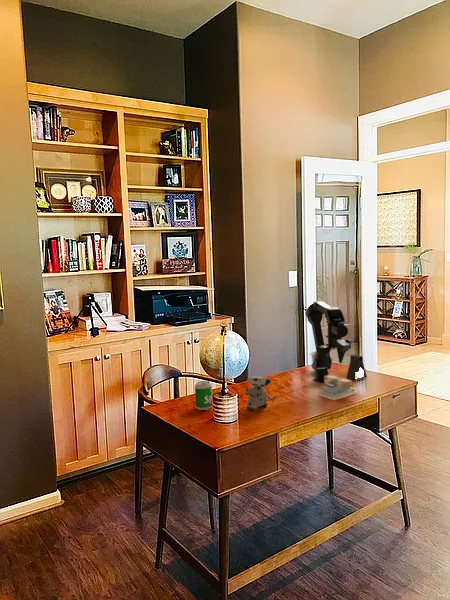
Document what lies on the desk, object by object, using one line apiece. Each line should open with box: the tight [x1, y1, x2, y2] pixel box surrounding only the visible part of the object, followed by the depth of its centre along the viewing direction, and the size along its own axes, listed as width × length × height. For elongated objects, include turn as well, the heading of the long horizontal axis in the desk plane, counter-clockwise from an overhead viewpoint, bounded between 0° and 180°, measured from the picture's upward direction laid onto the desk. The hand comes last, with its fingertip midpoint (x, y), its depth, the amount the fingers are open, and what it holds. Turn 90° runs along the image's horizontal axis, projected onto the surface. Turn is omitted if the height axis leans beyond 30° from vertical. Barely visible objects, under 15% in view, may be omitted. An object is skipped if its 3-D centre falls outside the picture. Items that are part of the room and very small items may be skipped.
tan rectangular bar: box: [323, 374, 353, 389], centre depth 235 cm, size 14×4×3 cm, turn 33°
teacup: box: [310, 351, 333, 363], centre depth 277 cm, size 12×15×10 cm
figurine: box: [245, 375, 277, 412], centre depth 219 cm, size 9×12×15 cm
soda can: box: [194, 380, 213, 411], centre depth 223 cm, size 8×8×12 cm
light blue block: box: [323, 382, 350, 394], centre depth 236 cm, size 12×5×5 cm, turn 123°
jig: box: [318, 386, 357, 401], centre depth 236 cm, size 15×10×2 cm, turn 123°
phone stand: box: [346, 354, 368, 380], centre depth 263 cm, size 9×6×12 cm, turn 124°
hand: (333, 364), depth 243 cm, fingers open, 9 cm apart
